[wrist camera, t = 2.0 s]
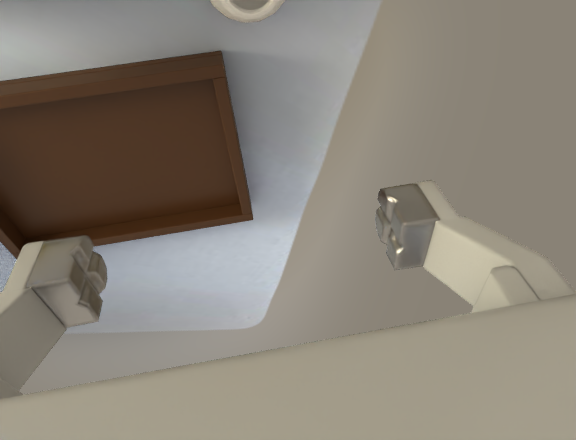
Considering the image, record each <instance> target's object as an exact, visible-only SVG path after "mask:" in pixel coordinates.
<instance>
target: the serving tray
mask: <svg viewBox="0 0 576 440" xmlns="http://www.w3.org/2000/svg"><path fill="white" fill-rule="evenodd" d="M250 220H253V214H252V207H251V201H250V196H249V190H248V185H247V180H246V175H245V170H244V164H243V159H242V154H241V149H240V144H239V139H238V133H237V128H236V123H235V118H234V113H233V108H232V102H231V97H230V92H229V87H228V82H227V77H226V71H225V66H224V61H223V56H222V51H215V52H208V53H201V54H193V55H186V56H179V57H172V58H165V59H158V60H150V61H143V62H136V63H129V64H122V65H115V66H107V67H100V68H93V69H86V70H79V71H72V72H64V73H57V74H50V75H43V76H36V77H29V78H21V79H14V80H7V81H0V242H1V243H2V244H3V245H4V246H5V247H6V248H7V249H8V250H9V251H10V253H12V255H13V256H14V257H15V258H16V259H17V258H18V256H19V254H20V252H21V249H22V247H23V246H24V245H26V244H27V243H31V242H38V241H46V240H50V239H58V238H65V237H73V236H80V235H86V236H89V237H90V239H91V240H92V242H93V243H94V246H100V245H106V244H112V243H118V242H124V241H130V240H136V239H142V238H148V237H154V236H160V235H166V234H172V233H178V232H184V231H190V230H196V229H202V228H208V227H214V226H220V225H226V224H232V223H238V222H244V221H250Z"/></svg>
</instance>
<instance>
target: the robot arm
mask: <svg viewBox="0 0 576 440" xmlns="http://www.w3.org/2000/svg"><path fill="white" fill-rule="evenodd" d="M378 201H379V203H380V205H381V206H380V207H379V208H378V209H377V211H376V218H375V221H376V229H377V232H378V236H379V238H380V240H381V242H383V243H384V244H386V245H387V252H386V253H387V256H388V258H389V260H390V262H391V264H392V266H393V268H394V270H400V269H406V268H413V267H421V266H423V268H424V269H426V270H427V271H428V272H430V273H431V274H432V275H433V276H435V277H436V278H437V279H439V280H440V281H441V282H442V283H444V284H445V285H446V286H448V287H449V288H450V289H452V290H453V291H454V292H456V293H457V294H459V295H460V296H461V297H462V298H463V299H465V300H466V301H467V302H468V303H470V304H471V305H472V306H474V307H473V309H472V311H471V313H468V314H462V315H457V316H451V317H446V318H440V319H435V320H429V321H424V322H419V323H413V324H408V325H402V326H397V327H391V328H386V329H380V330H375V331H369V332H364V333H359V334H353V335H348V336H342V337H337V338H331V339H326V340H320V341H315V342H309V343H304V344H299V345H293V346H288V347H282V348H277V349H271V350H266V351H261V352H255V353H249V354H244V355H239V356H233V357H228V358H222V359H216V360H211V361H205V362H200V363H194V364H189V365H183V366H178V367H173V368H167V369H162V370H156V371H151V372H145V373H140V374H134V375H129V376H123V377H118V378H112V379H107V380H102V381H96V382H90V383H85V384H79V385H74V386H69V387H64V388H58V389H53V390H47V391H42V392H36V393H31V394H25V395H23V394H22V393H21V392H19V390H20V389H21V387H22V386H23V385H24V384H25V382H26V381H27V380H28V378H29V377H30V376H31V374H32V373H33V372H34V371H35V369H36V368H37V367H38V366H39V364H40V363H41V362H42V360H43V359H44V358H45V357H46V355H47V354H48V353H49V351H50V350H51V349H52V348H53V346H54V345H55V344H56V342H57V341H58V340H59V339H60V337H61V336H62V335H63V333H64V332H65V331H66V330H67V329H66V328H67V327H72V326H77V325H82V324H87V323H92V322H97V321H99V316H100V311H101V307H102V302H103V300H102V299H101V297H100V296H99V294H100V293H101V292H102V291H103V290H104V289H105V287H106V283H107V268H106V265H105V262H104V260H103V258H102V256H101V255H100V254H98V253H96V252H94V251H93V247H94V243H93V242H92V240H91V239H90V237H89V236H86V235H80V236H73V237H65V238H58V239H50V240H46V241H38V242H31V243H27V244H26V245H24V246H23V247H22V249H21V252H20V254H19V256H18V258H17V261H16V263H15V265H14V267H13V270H12V272H11V274H10V276H9V279H8V281H7V283H6V285H5V288H4V290H3V292H1V293H0V440H576V291H575V290H574V288H573V287H572V286H571V285H570V284H569V283H568V282H567V280H566V279H565V278H564V277H563V275H562V274H561V273H560V272H559V271H558V269H557V268H556V267H555V266H554V265H553V264H552V262H551V261H550V260H549V259H548V258H547V257H545V256H544V255H542V254H540V253H538V252H536V251H534V250H532V249H530V248H527V247H526V246H524V245H522V244H519V243H518V242H516V241H514V240H511V239H509V238H507V237H505V236H503V235H501V234H499V233H497V232H495V231H493V230H491V229H489V228H487V227H485V226H483V225H481V224H479V223H477V222H475V221H473V220H471V219H469V218H467V217H460V216H459V215H458V214H457V212H456V211H455V209H454V208H453V207H452V205H451V204H450V202H449V201H448V200H447V198H446V197H445V195H444V194H443V193H442V191H441V190H440V188H439V187H438V186H437V184H436V183H435V182H434V181H432V180H429V181H423V182H417V183H414V184H406V185H400V186H394V187H388V188H382V189H380V191H379V193H378Z"/></svg>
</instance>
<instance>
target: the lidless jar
mask: <svg viewBox="0 0 576 440" xmlns="http://www.w3.org/2000/svg"><path fill="white" fill-rule="evenodd" d="M210 1H211V3H212V5H213V6H214V7H215V8H216V9H218V10H219V11H220V12H221V13H222V14H223V15H225V16H226V17H227V18H230V19H233V20H236V21H239V22H242V23H246V22H258V21H261V20H263V19H265V18H267V17H269V16H270V15H272V14H274V13H275V12H276V11H277V10H278V9H279V7H280V6H281V5H282V4H283V2H284V1H285V0H210Z"/></svg>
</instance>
